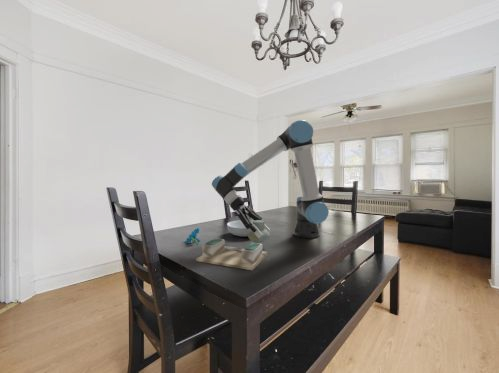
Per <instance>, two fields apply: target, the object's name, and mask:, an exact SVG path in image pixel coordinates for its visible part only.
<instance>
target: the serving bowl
mask: <svg viewBox="0 0 499 373" xmlns="http://www.w3.org/2000/svg"><path fill="white" fill-rule="evenodd" d="M250 221H251V222H252V224H253V221H254V220H253V219H250ZM226 227H227V230H228V231H229V233H231V234H232V235H234V236H236V237H243V238H245V237H248V233H249V231H251V229H250V228H249V229H247V228H246V227H245V226H244V224H243V223H242V222H241V220H240V219H239V220H233V221H229V222H227V223H226Z"/></svg>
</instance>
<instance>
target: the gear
mask: <svg viewBox="0 0 499 373" xmlns="http://www.w3.org/2000/svg"><path fill="white" fill-rule="evenodd" d="M199 233H200V228H198V227H197V228H195V229H194V230H193V231H192V232H191V233H190V234H189V235H188V237H187V238H186V240H185V243H186V244H190V243H191V242H193V243H195V244H197V245H199V242H200V239H199V238H198V237H197V236H198V235H197V234H199Z"/></svg>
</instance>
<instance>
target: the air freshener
mask: <svg viewBox="0 0 499 373" xmlns="http://www.w3.org/2000/svg"><path fill="white" fill-rule="evenodd" d="M252 221H253V224H254V225H255V226H256V227H257V228H258V229H259V231H260V232H261V233H262V234H263V235H262V236H261V237H260V238H258V237H257V236H256V235H255V234H254V233H253V231H252V230H251V231H249V233H248V236H247V237H248V239H249V240H250V241H251V242H252V243H258V244H261V243H265V242H266V241H268V240H269V239H270V237H271V234H270V232H269V231H267V230H266V229H265V225H266V224H265V220H263V219H262V220H252Z"/></svg>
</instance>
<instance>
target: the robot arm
mask: <svg viewBox="0 0 499 373" xmlns="http://www.w3.org/2000/svg"><path fill="white" fill-rule="evenodd" d="M313 135H314V128H313V126H312V124H311V123H310V122H309V121H307V120H304V119H298V120H295V121H293V122H292V123H291V124H290V126H288V127H287V128H286V129H285V130H284V131H283V132H282V133H281V134H280V135H278V136H277V137H276V139H275V140H273V142H271V143H270V144H268V145H266V146H265V147H264V148H262V149H261V150H259V151H258V152H256V153H255V154H253V155H252V156H250V157H249V158H247V159H245V160H244V161H243V162H238V163H237V164H236V165H234V167H233V168H231V169H230V170H229V172H227V173H226V174H225V175H224V176H222V175H218V176H216V177H215V178H214V179H213V180H212V181H211V187H212V188H213V189H214V191H215V192H217V194H218V195H219V196H220V197H221V198H222V199H223V200H224V201H225V203H226V204H227V205H229V208H230V209H231V210H233V211H234V214H235V215H236V216H237V217H238V219H239V220H241V222H242V223H243V224H244V226H245V227H246V228H247V229H249V228H250V229H251V230H252V231H253V233H254V234H255V235H256V236H257V237H258V238H260V237H261V236H262V235H263V234H262V233H261V232H260V231H259V229H258V228H257V227H256V226H255V225H254V224H252V222H251V221H250V220H252V221H255V220H263V218H262V217H261V215H260V214H259V213H257V212H256V211H255V210H254V209H253V208H252V207H251V206H250V205H245V203H246V202H245V201H246V200H245V199H244V198H243V197H242V196H241V195H240V194H239V193H238V192H237V191H236V190H235V188H234V187H236V186H237V185H238V184H239V183H240V182H241V181H242V180H243V179H244V178H246V177H247V176H248V175H250V174H251V173H253V172H254V171H255V170H257V169H259V168H260V167H261V166H264V165H265V164H266V163H268V162H269V161H271V160H272V159H273V158H275V157H277V156H278V155H279V154H281V153H282V152H287V151H289V150H291V151H292V152H293V153H294V157H295V164H296V167H297V168H296V169H297V173H298V178H299V182H300V186H301V187H300V188H301V194H302V196H297V198H296V201H295V203H296V223H295V226H294V229H293V236H295V237H298V238H303V239H315V238H318V237H320V235H321V234H320V233H321V232H320V229H319V225H318V224H322V223H324V221H326V220H327V218H328V217H329V208H328V206H327V205H326V204H325V201H324V196H323V195H322V194H321V193H320V189H319V185H318V180H317V174H316V170H315V165H314V159H313V155H312V153H313V152H312V147H313V145H314V143H313ZM265 229H266V230H267V231H268V232H269V231H270V227H268V226H267V225H266V224H265Z"/></svg>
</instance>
